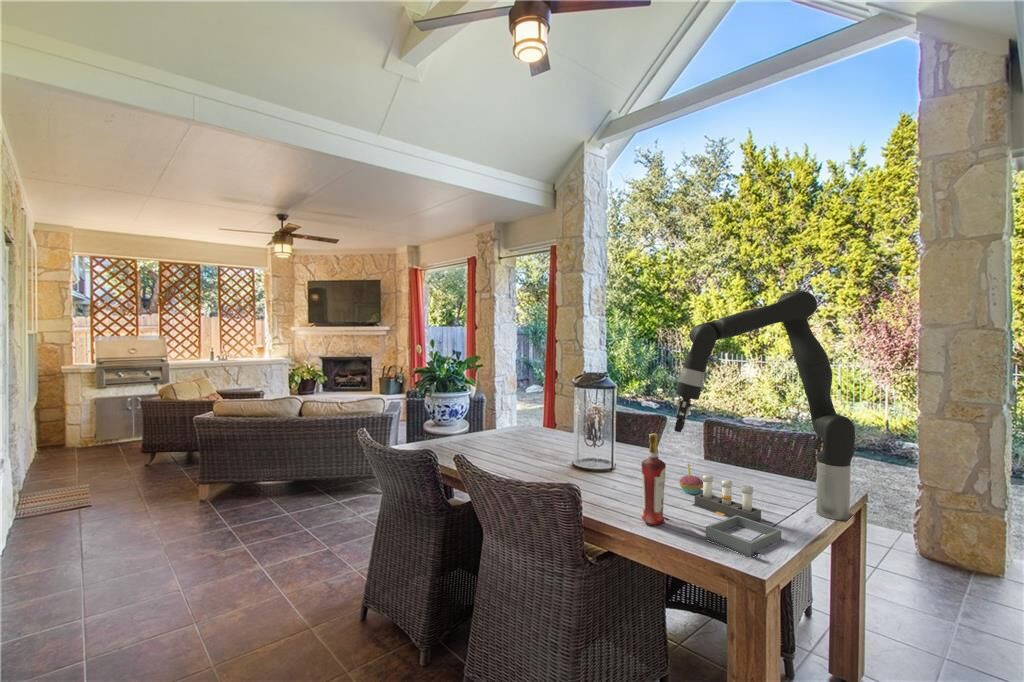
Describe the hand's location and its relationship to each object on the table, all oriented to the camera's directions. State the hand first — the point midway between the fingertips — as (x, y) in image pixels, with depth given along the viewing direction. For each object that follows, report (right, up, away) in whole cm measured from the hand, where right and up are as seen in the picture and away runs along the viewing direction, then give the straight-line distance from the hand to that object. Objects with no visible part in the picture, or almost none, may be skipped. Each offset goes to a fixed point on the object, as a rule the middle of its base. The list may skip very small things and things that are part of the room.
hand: (678, 430), depth 165 cm
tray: (+11, -28, -23) cm, 38 cm away
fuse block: (+14, -27, -4) cm, 31 cm away
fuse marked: (+14, -26, -4) cm, 30 cm away
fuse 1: (+10, -26, +2) cm, 28 cm away
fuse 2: (+18, -26, -10) cm, 33 cm away
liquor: (-11, -28, -9) cm, 31 cm away
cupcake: (+10, -27, +16) cm, 33 cm away
